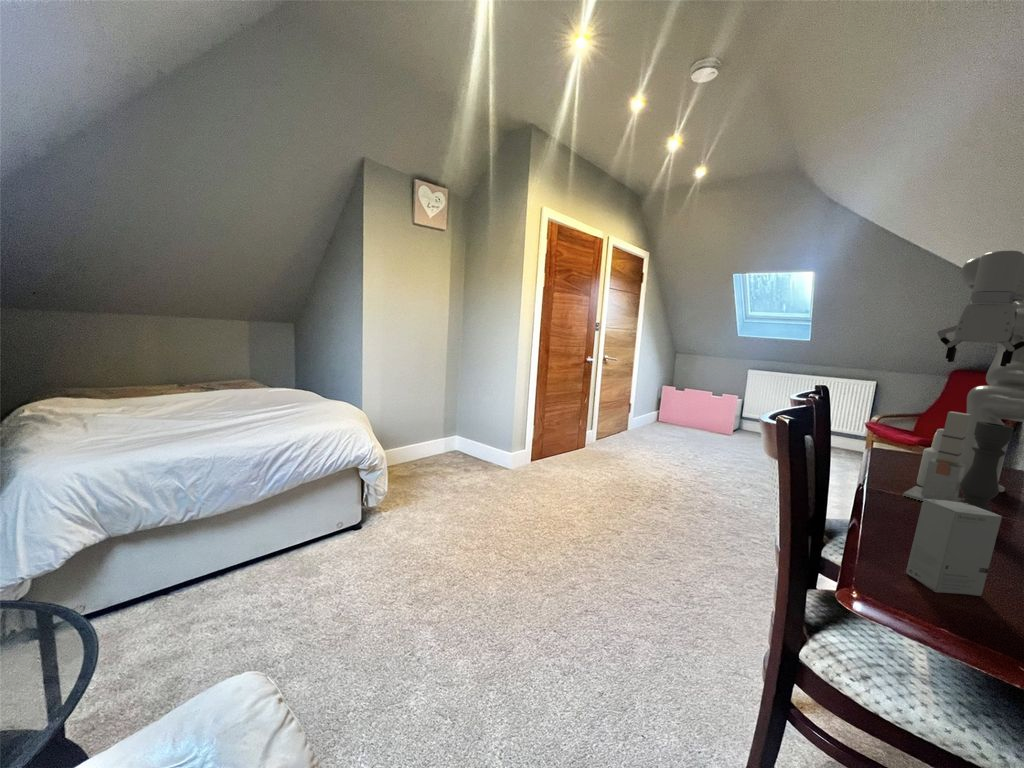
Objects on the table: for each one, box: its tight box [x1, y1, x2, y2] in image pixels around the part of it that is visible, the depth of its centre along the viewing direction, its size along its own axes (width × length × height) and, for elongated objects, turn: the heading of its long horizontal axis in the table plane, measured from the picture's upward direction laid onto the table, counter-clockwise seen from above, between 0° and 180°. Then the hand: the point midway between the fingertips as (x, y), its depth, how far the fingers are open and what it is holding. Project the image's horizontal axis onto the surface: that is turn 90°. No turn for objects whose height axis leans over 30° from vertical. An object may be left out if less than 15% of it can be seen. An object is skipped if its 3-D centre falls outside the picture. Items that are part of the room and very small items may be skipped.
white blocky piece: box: [902, 458, 966, 502], centre depth 113 cm, size 12×12×12 cm
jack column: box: [936, 411, 971, 467], centre depth 111 cm, size 4×4×18 cm
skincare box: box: [905, 499, 1003, 597], centre depth 72 cm, size 8×6×15 cm
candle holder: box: [957, 422, 1015, 513], centre depth 97 cm, size 6×6×25 cm
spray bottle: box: [916, 428, 944, 488], centre depth 123 cm, size 7×7×18 cm
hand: (975, 364), depth 111 cm, fingers open, 9 cm apart
